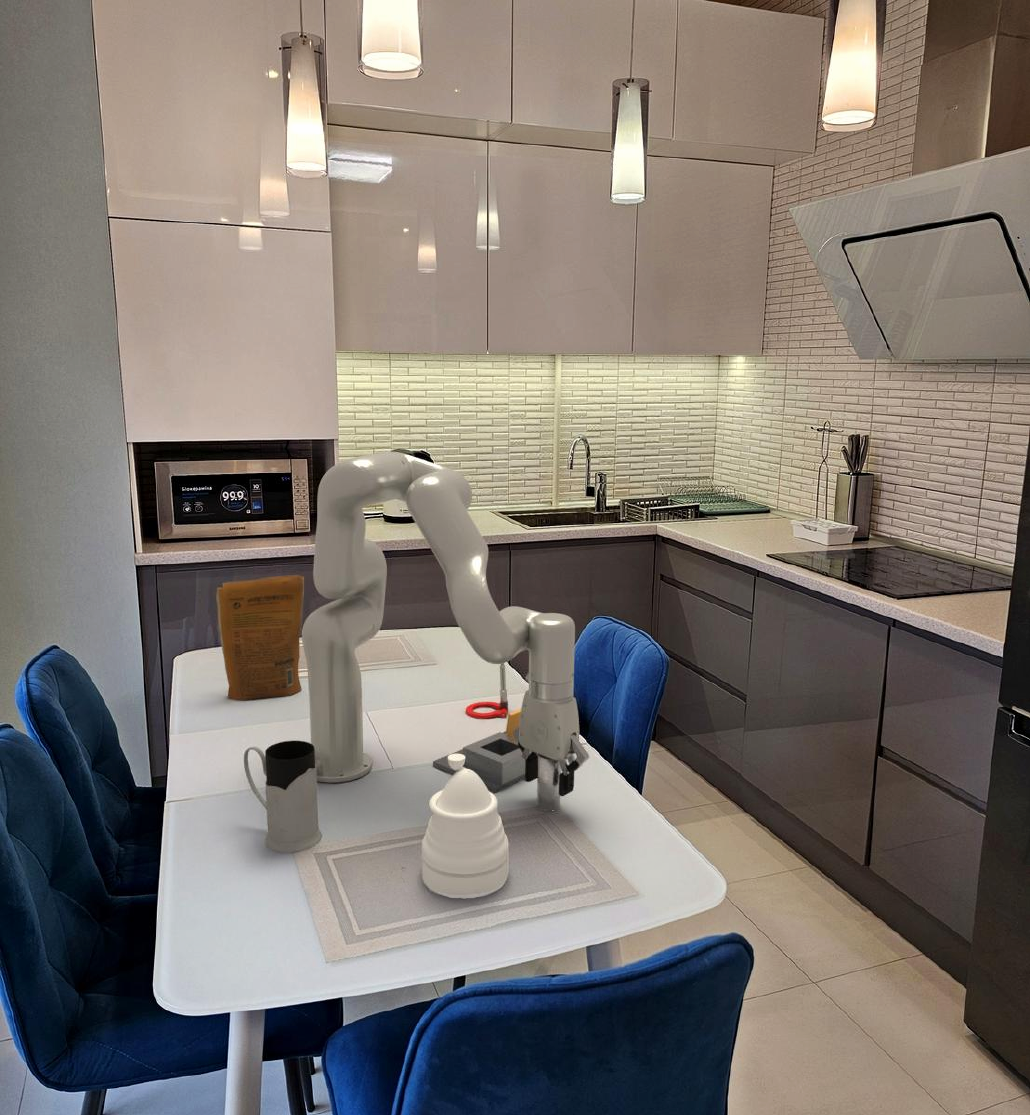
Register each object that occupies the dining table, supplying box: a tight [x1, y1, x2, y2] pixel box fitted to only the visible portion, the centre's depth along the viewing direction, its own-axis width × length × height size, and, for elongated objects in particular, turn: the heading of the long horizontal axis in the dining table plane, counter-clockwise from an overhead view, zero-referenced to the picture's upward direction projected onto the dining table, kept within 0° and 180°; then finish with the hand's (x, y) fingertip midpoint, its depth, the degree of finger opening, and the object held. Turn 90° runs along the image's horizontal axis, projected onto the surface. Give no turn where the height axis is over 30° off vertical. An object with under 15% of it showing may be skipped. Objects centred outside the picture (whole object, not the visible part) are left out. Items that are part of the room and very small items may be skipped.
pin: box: [536, 754, 562, 812], centre depth 154 cm, size 4×4×11 cm
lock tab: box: [505, 708, 521, 737], centre depth 177 cm, size 8×1×8 cm, turn 138°
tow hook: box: [465, 663, 509, 720], centre depth 197 cm, size 8×13×9 cm
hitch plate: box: [432, 730, 568, 794], centre depth 173 cm, size 22×16×5 cm
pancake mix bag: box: [215, 574, 305, 702], centre depth 203 cm, size 7×19×28 cm, turn 110°
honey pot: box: [421, 753, 510, 895], centre depth 132 cm, size 13×13×18 cm
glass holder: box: [243, 740, 323, 854], centre depth 144 cm, size 9×14×15 cm, turn 61°
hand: (548, 785), depth 155 cm, fingers open, 6 cm apart
